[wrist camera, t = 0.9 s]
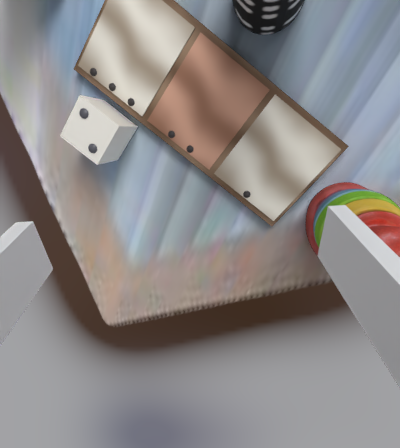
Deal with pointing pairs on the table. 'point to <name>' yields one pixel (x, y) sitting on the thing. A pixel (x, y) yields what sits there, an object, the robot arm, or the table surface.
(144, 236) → the table surface
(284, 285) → the table surface
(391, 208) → the stacking bear
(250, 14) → the white-spotted black cylinder
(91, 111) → the die
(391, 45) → the table surface
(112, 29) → the brown and cream board
